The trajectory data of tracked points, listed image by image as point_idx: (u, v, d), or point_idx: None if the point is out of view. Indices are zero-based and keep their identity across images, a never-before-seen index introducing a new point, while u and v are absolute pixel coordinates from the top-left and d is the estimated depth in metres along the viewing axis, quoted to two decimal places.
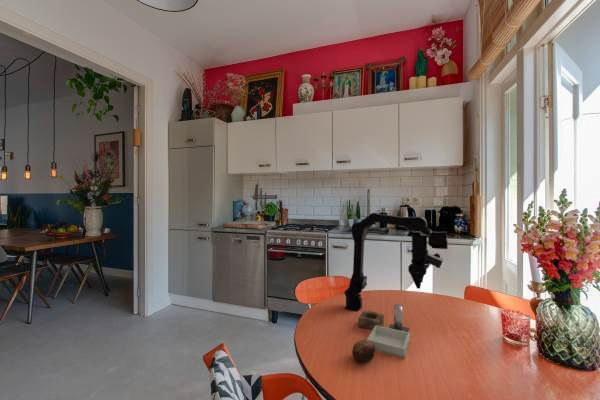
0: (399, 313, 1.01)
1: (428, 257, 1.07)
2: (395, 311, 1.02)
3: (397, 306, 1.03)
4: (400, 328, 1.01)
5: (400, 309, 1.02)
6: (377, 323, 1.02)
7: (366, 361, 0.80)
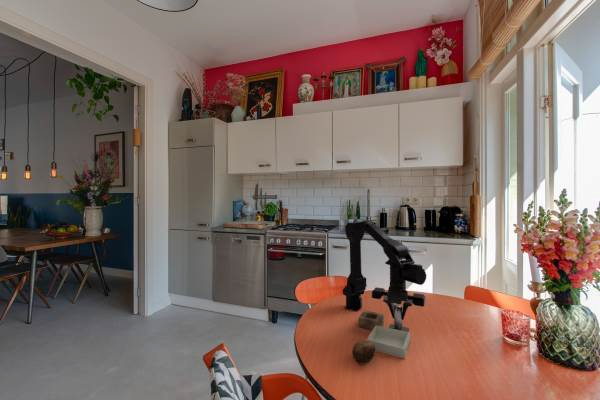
0: (399, 313, 1.01)
1: None
2: (395, 311, 1.02)
3: (397, 306, 1.03)
4: (400, 328, 1.01)
5: (400, 309, 1.02)
6: (377, 323, 1.02)
7: (366, 361, 0.80)
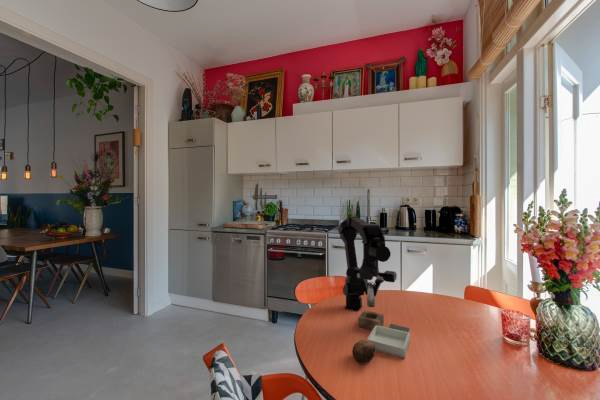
0: (371, 290, 1.06)
1: (362, 266, 1.05)
2: (368, 288, 1.06)
3: (370, 283, 1.07)
4: (372, 304, 1.06)
5: (372, 286, 1.06)
6: (377, 323, 1.02)
7: (366, 361, 0.80)
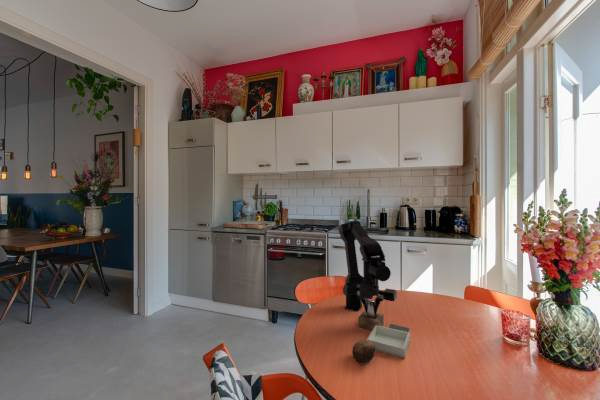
0: (372, 308, 1.05)
1: None
2: (368, 306, 1.06)
3: (370, 301, 1.07)
4: None
5: (373, 304, 1.06)
6: (377, 323, 1.02)
7: (366, 361, 0.80)
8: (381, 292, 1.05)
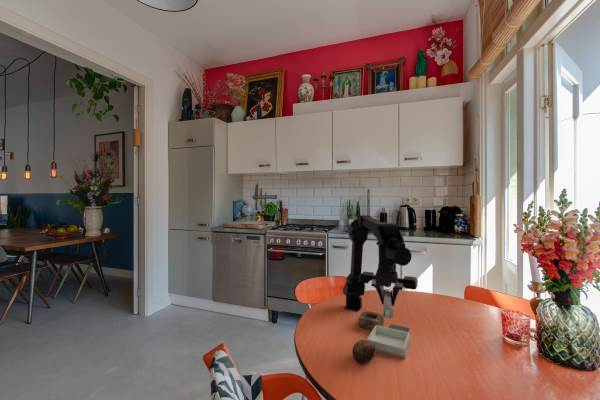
0: (389, 298, 0.92)
1: None
2: (384, 296, 0.93)
3: (387, 290, 0.93)
4: (390, 315, 0.92)
5: (390, 294, 0.92)
6: (377, 323, 1.02)
7: (366, 361, 0.80)
8: (400, 280, 0.91)
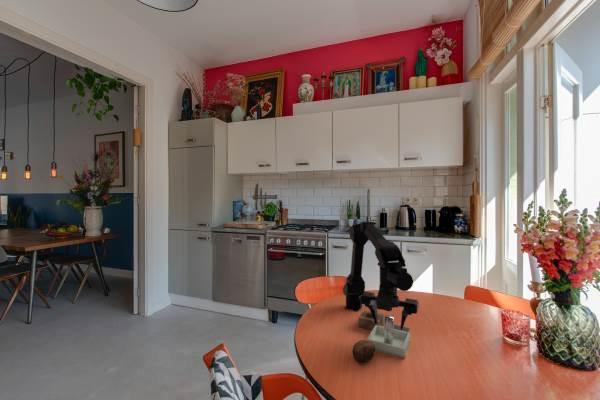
0: (390, 325, 0.92)
1: None
2: (386, 322, 0.92)
3: (388, 317, 0.93)
4: (391, 341, 0.92)
5: (391, 320, 0.92)
6: (377, 323, 1.02)
7: (366, 361, 0.80)
8: (401, 303, 0.90)
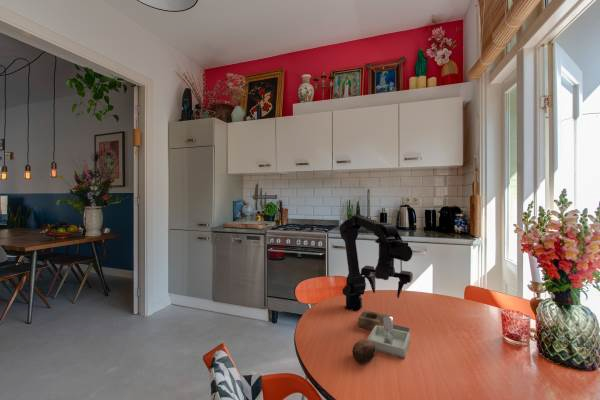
0: (389, 324, 0.92)
1: None
2: (385, 322, 0.92)
3: (387, 316, 0.93)
4: (390, 341, 0.92)
5: (390, 320, 0.92)
6: (377, 323, 1.02)
7: (366, 361, 0.80)
8: (397, 274, 1.03)
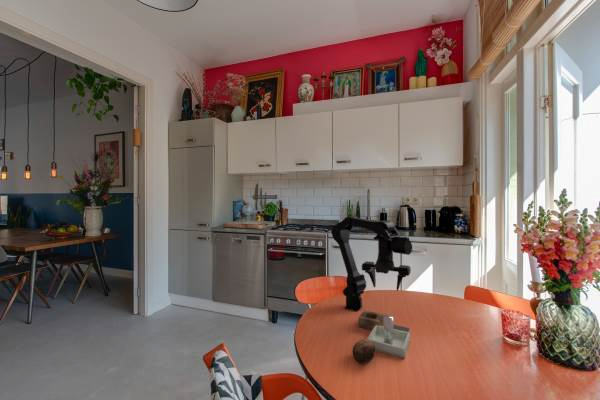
0: (389, 324, 0.92)
1: None
2: (385, 322, 0.92)
3: (387, 317, 0.93)
4: (390, 341, 0.92)
5: (391, 320, 0.92)
6: (377, 323, 1.02)
7: (366, 361, 0.80)
8: (396, 268, 1.09)
